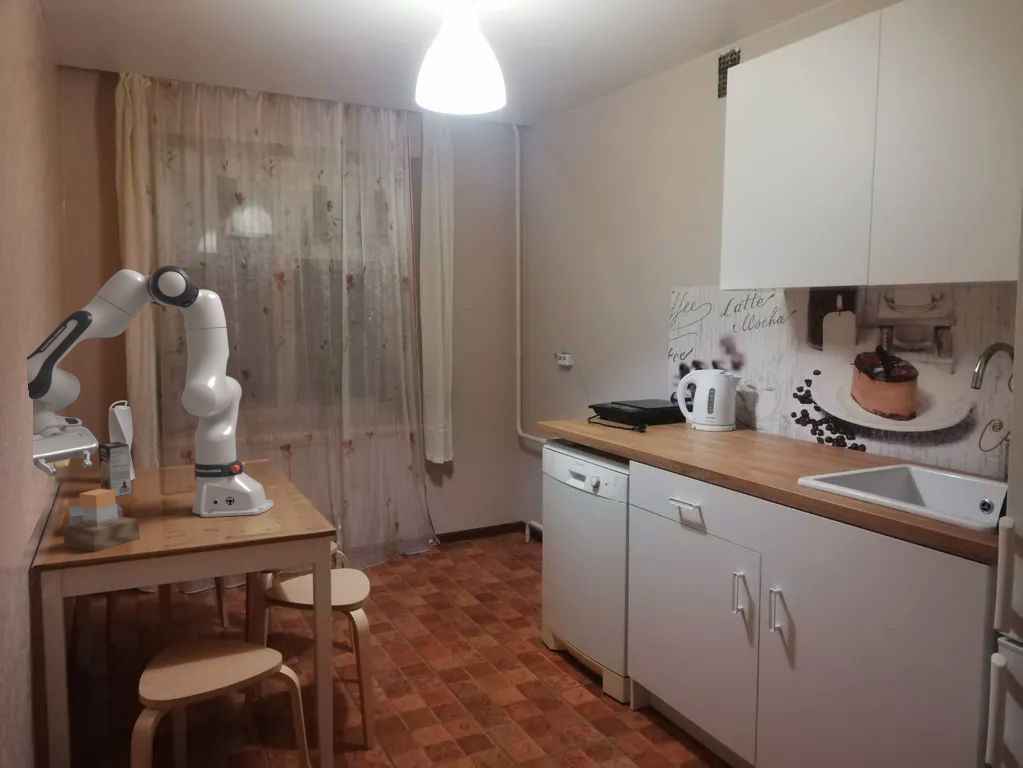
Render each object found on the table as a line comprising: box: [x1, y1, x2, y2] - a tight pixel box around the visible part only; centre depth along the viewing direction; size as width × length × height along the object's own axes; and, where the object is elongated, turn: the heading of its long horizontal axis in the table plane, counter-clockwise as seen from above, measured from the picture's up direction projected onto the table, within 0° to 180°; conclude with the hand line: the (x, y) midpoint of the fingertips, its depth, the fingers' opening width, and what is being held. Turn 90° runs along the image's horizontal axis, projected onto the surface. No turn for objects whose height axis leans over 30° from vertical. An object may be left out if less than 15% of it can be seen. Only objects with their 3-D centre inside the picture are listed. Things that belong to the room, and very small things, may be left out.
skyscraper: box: [108, 400, 136, 481], centre depth 259 cm, size 8×8×28 cm
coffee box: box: [98, 442, 132, 497], centre depth 242 cm, size 9×6×16 cm
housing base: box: [82, 504, 118, 527], centre depth 189 cm, size 6×6×4 cm
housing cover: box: [79, 488, 117, 509], centre depth 188 cm, size 6×6×4 cm
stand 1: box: [67, 500, 124, 524], centre depth 204 cm, size 12×12×5 cm
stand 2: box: [62, 516, 140, 553], centre depth 189 cm, size 12×12×5 cm
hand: (71, 470), depth 193 cm, fingers open, 8 cm apart
